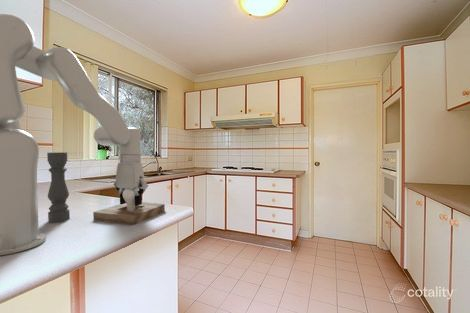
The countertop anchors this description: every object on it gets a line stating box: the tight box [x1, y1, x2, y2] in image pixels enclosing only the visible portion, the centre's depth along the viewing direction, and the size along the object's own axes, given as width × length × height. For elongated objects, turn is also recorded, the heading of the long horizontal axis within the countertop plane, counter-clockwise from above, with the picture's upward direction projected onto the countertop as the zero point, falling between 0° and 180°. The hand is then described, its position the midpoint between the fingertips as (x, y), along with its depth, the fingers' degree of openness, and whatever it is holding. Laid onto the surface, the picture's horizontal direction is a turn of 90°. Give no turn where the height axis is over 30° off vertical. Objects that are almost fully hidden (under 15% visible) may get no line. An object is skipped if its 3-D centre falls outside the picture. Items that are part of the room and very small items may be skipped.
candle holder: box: [46, 152, 71, 224], centre depth 81 cm, size 6×6×25 cm
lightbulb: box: [123, 189, 139, 211], centre depth 87 cm, size 6×6×11 cm
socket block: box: [92, 201, 165, 226], centre depth 87 cm, size 18×18×3 cm
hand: (130, 203), depth 87 cm, fingers open, 6 cm apart
